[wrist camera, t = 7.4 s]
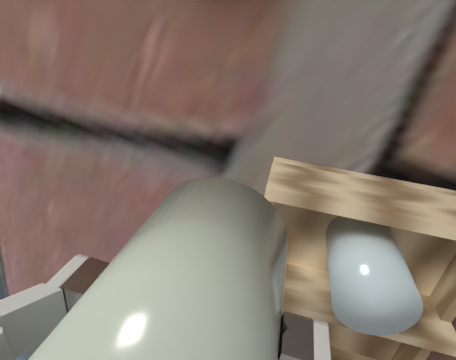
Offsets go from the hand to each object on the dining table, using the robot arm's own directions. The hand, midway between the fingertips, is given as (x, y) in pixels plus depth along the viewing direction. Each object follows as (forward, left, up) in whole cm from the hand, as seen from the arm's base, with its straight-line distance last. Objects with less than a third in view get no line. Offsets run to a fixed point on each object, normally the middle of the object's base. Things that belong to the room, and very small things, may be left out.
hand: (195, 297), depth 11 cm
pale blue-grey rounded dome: (-11, +9, -20) cm, 25 cm away
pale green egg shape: (0, 0, -4) cm, 4 cm away
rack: (-11, +15, -21) cm, 28 cm away
